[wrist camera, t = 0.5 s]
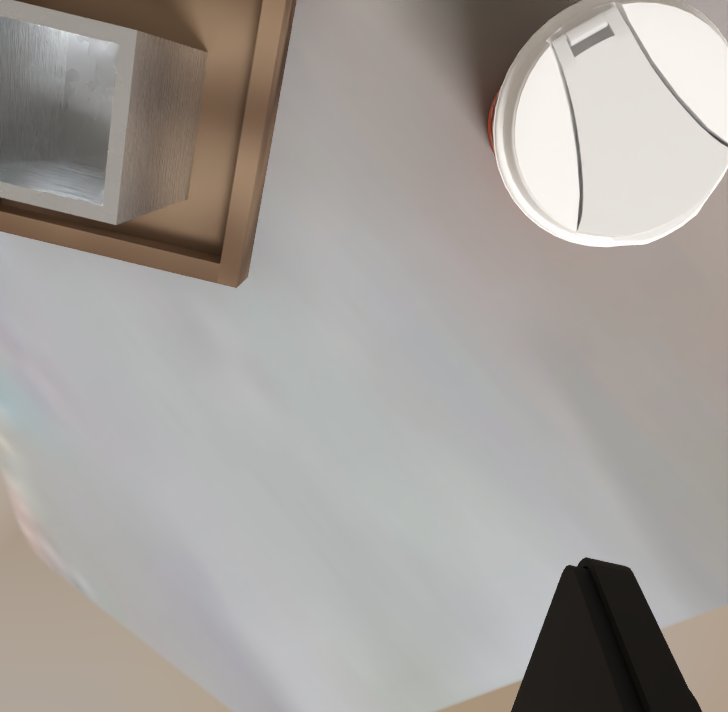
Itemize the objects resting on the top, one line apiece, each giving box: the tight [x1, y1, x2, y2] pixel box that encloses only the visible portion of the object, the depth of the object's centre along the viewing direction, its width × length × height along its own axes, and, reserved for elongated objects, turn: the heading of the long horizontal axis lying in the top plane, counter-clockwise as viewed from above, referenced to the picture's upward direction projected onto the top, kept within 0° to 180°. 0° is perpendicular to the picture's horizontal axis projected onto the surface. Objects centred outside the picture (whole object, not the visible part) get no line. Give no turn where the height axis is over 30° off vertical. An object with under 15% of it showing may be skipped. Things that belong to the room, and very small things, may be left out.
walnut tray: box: [0, 0, 296, 288], centre depth 33 cm, size 18×14×2 cm
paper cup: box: [488, 0, 728, 247], centre depth 27 cm, size 8×8×14 cm
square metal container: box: [0, 0, 208, 225], centre depth 30 cm, size 7×7×9 cm
